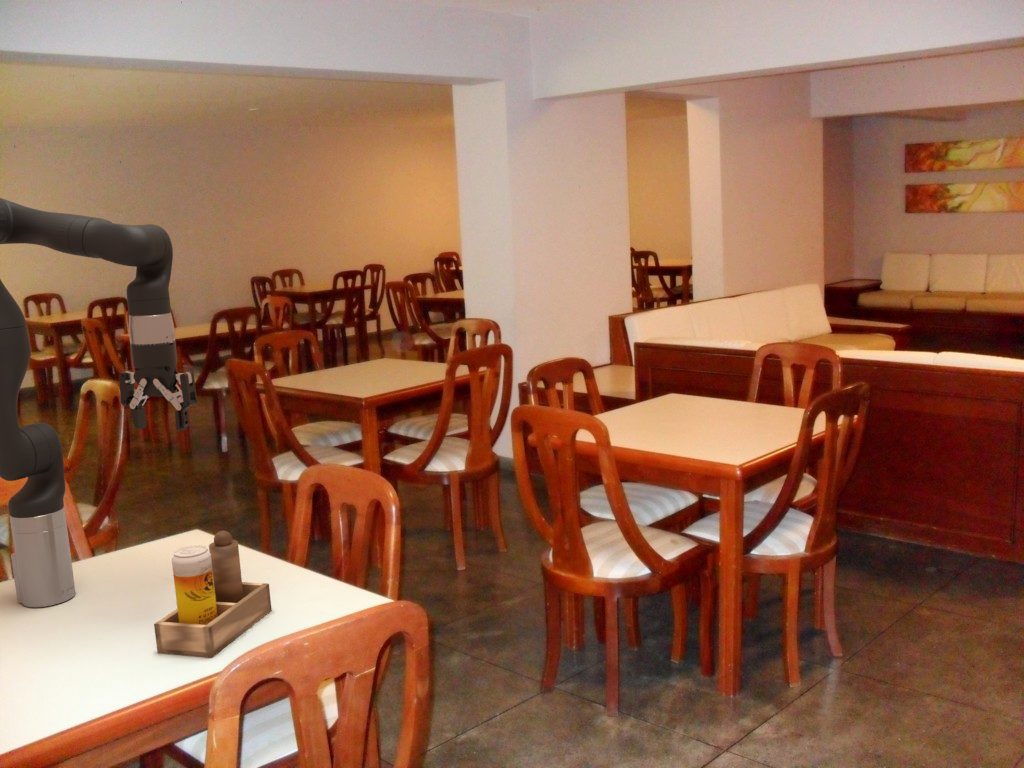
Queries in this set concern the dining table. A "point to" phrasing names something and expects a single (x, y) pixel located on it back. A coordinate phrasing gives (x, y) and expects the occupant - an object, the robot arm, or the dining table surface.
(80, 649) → the dining table surface
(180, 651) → the caddy
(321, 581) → the dining table surface
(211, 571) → the beer can
